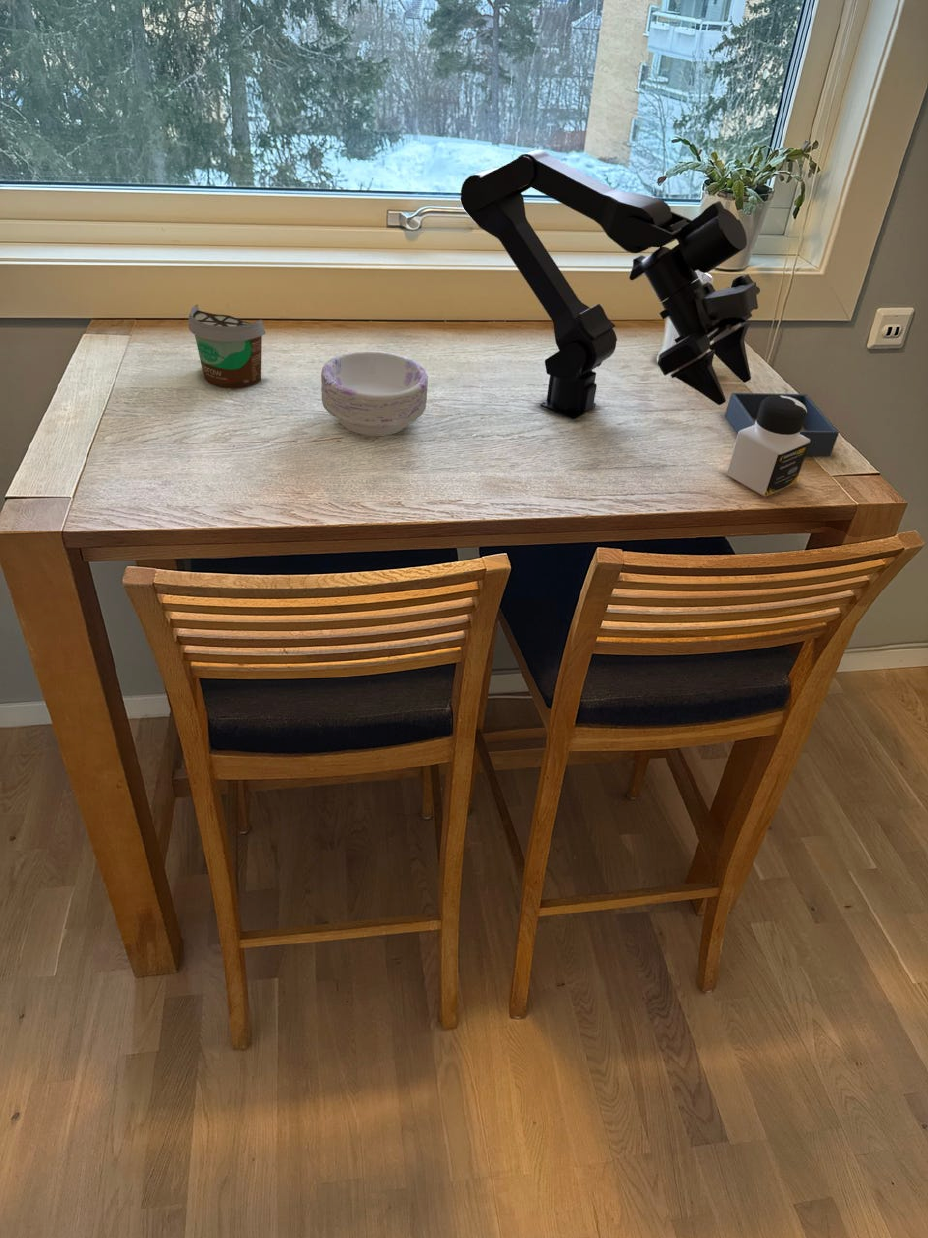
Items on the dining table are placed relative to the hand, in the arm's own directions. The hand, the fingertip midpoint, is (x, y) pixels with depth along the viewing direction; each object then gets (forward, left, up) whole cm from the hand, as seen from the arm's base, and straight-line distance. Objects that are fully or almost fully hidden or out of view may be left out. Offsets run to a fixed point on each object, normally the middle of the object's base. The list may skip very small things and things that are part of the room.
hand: (735, 392), depth 124 cm
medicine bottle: (+7, 0, -11) cm, 13 cm away
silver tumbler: (-21, +27, -11) cm, 36 cm away
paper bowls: (-43, -26, -11) cm, 52 cm away
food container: (-68, -33, -11) cm, 76 cm away
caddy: (+3, +15, -11) cm, 18 cm away
